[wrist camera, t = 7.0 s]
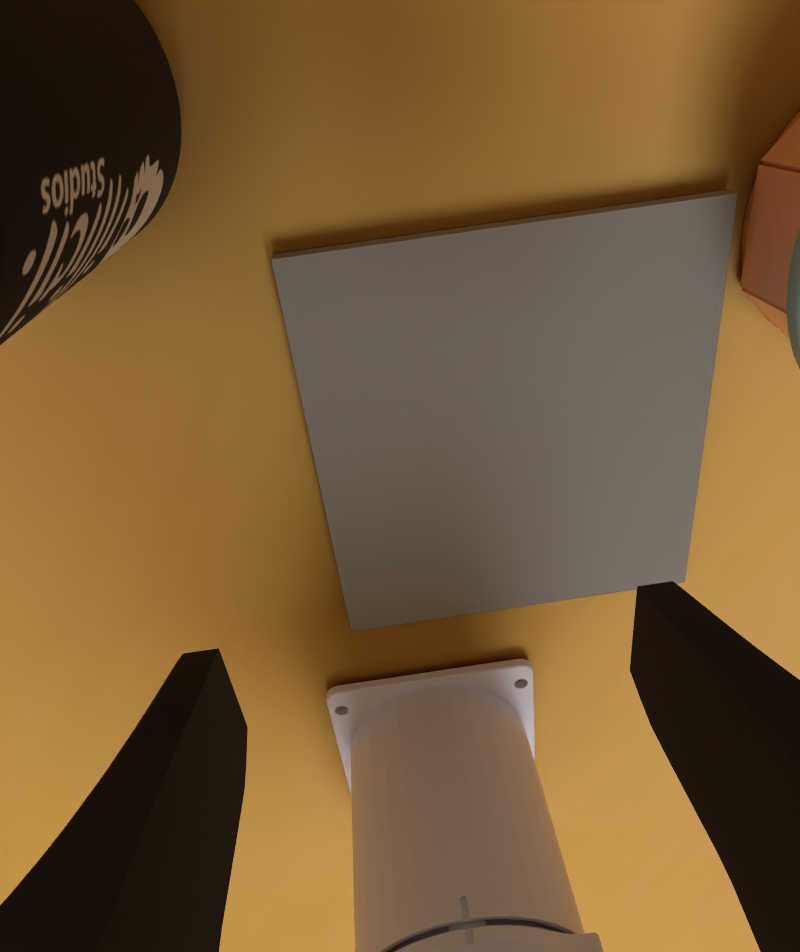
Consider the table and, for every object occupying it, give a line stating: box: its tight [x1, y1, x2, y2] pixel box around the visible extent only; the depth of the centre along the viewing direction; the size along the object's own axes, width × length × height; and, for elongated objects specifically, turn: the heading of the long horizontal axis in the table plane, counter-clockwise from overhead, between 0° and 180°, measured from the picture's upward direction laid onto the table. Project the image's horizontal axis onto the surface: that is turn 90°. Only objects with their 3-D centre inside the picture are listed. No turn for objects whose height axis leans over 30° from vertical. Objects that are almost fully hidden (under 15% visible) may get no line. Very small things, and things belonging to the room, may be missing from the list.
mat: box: [271, 190, 738, 632], centre depth 21 cm, size 13×12×1 cm
